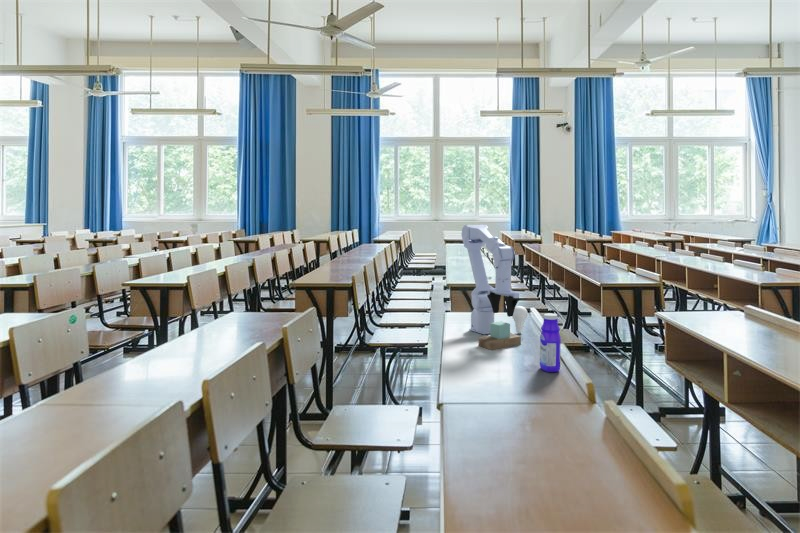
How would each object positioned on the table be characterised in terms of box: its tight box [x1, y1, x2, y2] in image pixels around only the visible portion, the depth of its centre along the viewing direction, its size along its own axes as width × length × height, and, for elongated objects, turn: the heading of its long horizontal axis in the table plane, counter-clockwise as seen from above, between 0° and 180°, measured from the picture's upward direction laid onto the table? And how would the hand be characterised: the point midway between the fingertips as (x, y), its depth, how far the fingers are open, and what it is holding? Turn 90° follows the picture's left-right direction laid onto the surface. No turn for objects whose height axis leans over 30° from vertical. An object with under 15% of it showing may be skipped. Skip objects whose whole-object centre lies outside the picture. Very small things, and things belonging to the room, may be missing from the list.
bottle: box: [539, 312, 562, 373], centre depth 170 cm, size 7×6×17 cm
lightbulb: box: [511, 305, 529, 334], centre depth 217 cm, size 6×6×11 cm
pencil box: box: [478, 332, 522, 351], centre depth 201 cm, size 7×14×3 cm, turn 121°
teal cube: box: [489, 320, 511, 339], centre depth 200 cm, size 5×5×5 cm
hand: (502, 314), depth 207 cm, fingers open, 7 cm apart
